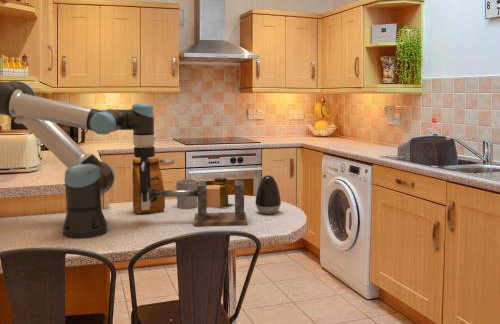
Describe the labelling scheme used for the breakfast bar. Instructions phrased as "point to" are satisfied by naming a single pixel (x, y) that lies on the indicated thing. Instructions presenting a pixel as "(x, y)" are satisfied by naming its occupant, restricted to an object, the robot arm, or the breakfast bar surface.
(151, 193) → the shaft
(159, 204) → the coffee package
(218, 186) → the block
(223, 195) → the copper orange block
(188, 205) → the mug
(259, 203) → the black egg shaped speaker
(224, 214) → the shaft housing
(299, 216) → the breakfast bar surface
